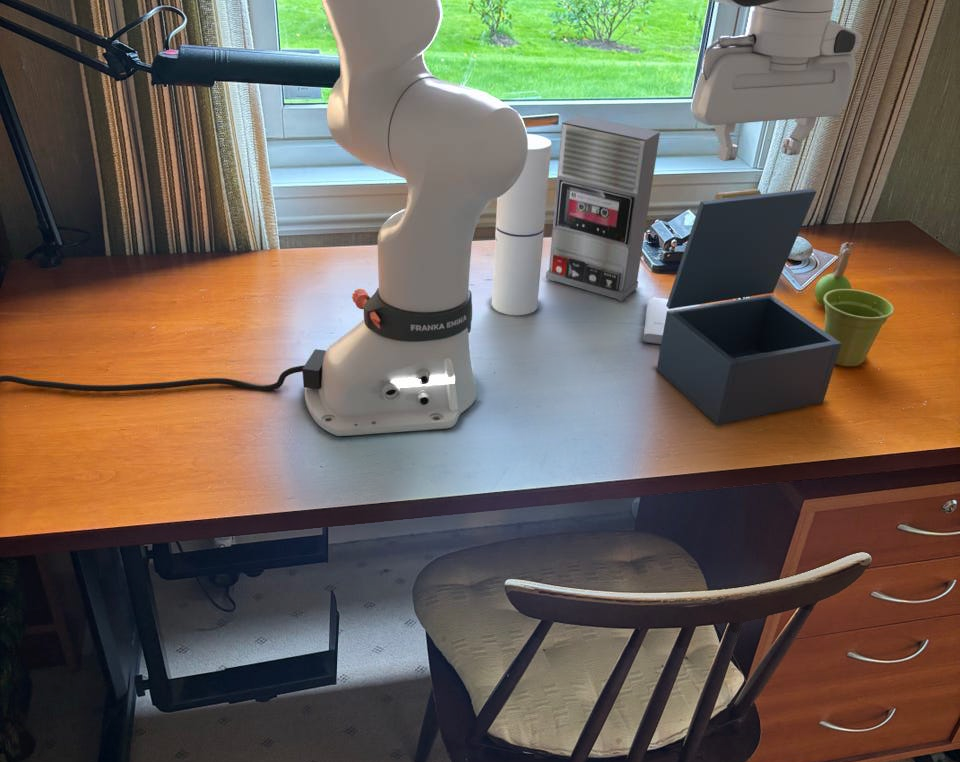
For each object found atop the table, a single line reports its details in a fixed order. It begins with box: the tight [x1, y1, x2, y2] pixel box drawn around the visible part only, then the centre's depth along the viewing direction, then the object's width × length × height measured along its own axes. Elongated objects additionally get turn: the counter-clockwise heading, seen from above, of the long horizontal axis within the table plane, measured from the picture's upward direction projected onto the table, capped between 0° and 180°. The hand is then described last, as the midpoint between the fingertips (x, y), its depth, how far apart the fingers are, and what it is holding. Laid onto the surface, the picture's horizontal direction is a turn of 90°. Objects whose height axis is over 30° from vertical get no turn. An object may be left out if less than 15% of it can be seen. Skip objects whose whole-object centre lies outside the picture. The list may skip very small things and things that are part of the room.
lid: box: [666, 188, 817, 309], centre depth 120 cm, size 16×17×5 cm
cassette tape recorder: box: [545, 114, 661, 302], centre depth 142 cm, size 14×6×25 cm, turn 58°
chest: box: [656, 294, 842, 425], centre depth 123 cm, size 15×17×9 cm
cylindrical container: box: [491, 133, 552, 316], centre depth 135 cm, size 7×7×25 cm
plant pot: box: [823, 288, 895, 367], centre depth 130 cm, size 9×9×9 cm
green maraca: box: [814, 241, 855, 308], centre depth 143 cm, size 5×6×12 cm
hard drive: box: [642, 296, 702, 345], centre depth 138 cm, size 2×8×12 cm
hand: (758, 156), depth 112 cm, fingers open, 8 cm apart
